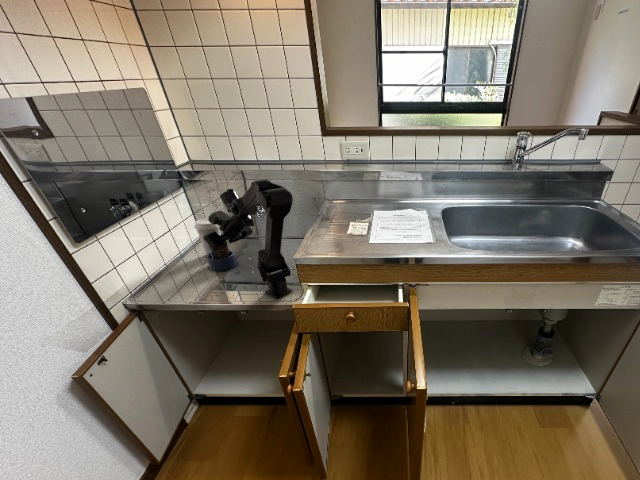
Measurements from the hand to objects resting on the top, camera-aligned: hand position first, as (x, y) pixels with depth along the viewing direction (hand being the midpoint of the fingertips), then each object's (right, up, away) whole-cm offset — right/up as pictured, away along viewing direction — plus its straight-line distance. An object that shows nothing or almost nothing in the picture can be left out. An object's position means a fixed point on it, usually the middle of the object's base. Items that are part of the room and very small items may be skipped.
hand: (220, 246), depth 126 cm
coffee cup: (-10, -2, +13) cm, 16 cm away
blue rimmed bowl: (-2, -7, +5) cm, 9 cm away
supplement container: (-2, -7, +5) cm, 9 cm away
